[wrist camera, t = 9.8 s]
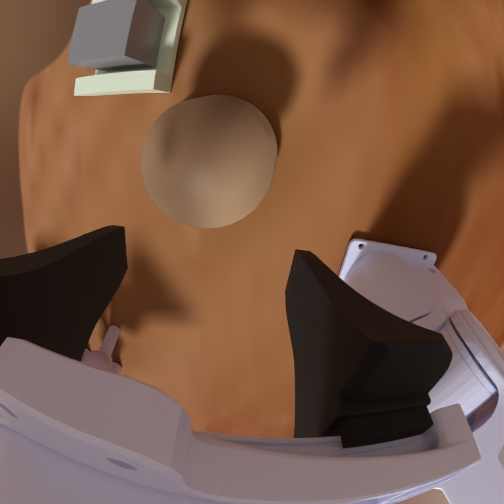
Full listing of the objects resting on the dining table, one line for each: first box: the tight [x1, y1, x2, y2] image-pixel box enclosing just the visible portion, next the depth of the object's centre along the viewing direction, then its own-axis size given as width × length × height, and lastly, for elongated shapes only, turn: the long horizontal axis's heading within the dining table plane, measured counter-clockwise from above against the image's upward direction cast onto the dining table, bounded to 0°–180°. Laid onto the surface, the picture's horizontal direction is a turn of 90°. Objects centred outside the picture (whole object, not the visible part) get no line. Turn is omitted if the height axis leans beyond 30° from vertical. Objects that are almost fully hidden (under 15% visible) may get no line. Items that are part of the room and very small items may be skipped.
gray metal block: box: [67, 0, 165, 71], centre depth 11 cm, size 4×4×5 cm
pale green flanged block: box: [74, 0, 187, 96], centre depth 13 cm, size 6×8×4 cm
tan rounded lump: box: [140, 95, 277, 228], centre depth 16 cm, size 8×8×6 cm
